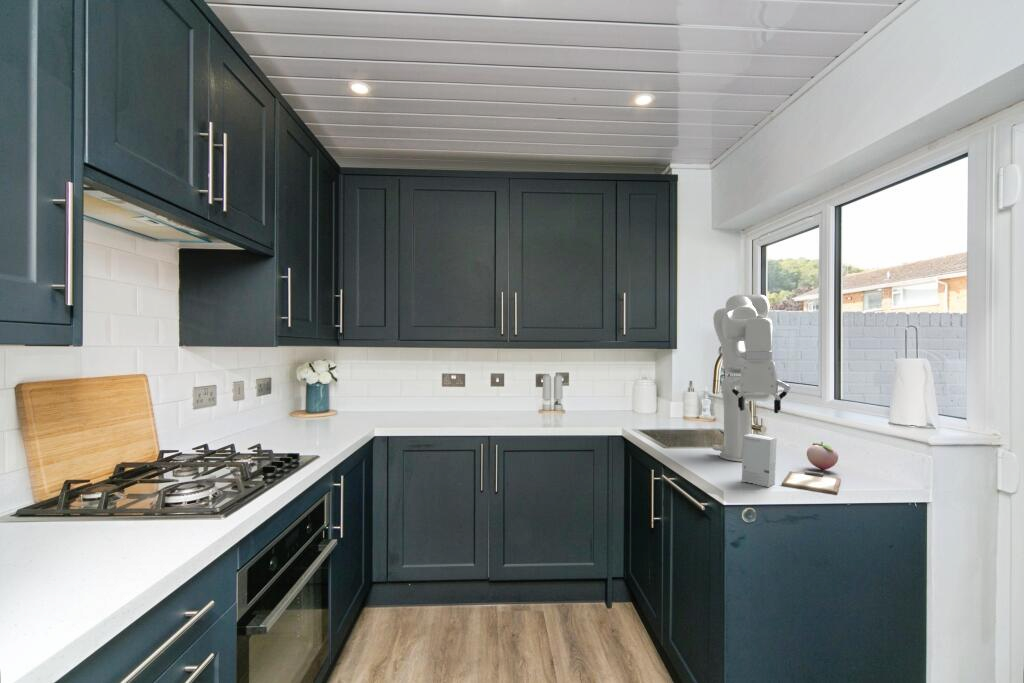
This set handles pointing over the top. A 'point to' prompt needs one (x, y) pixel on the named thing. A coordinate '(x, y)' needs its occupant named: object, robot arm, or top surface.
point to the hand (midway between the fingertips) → (759, 411)
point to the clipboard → (812, 482)
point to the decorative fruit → (822, 456)
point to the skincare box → (759, 459)
